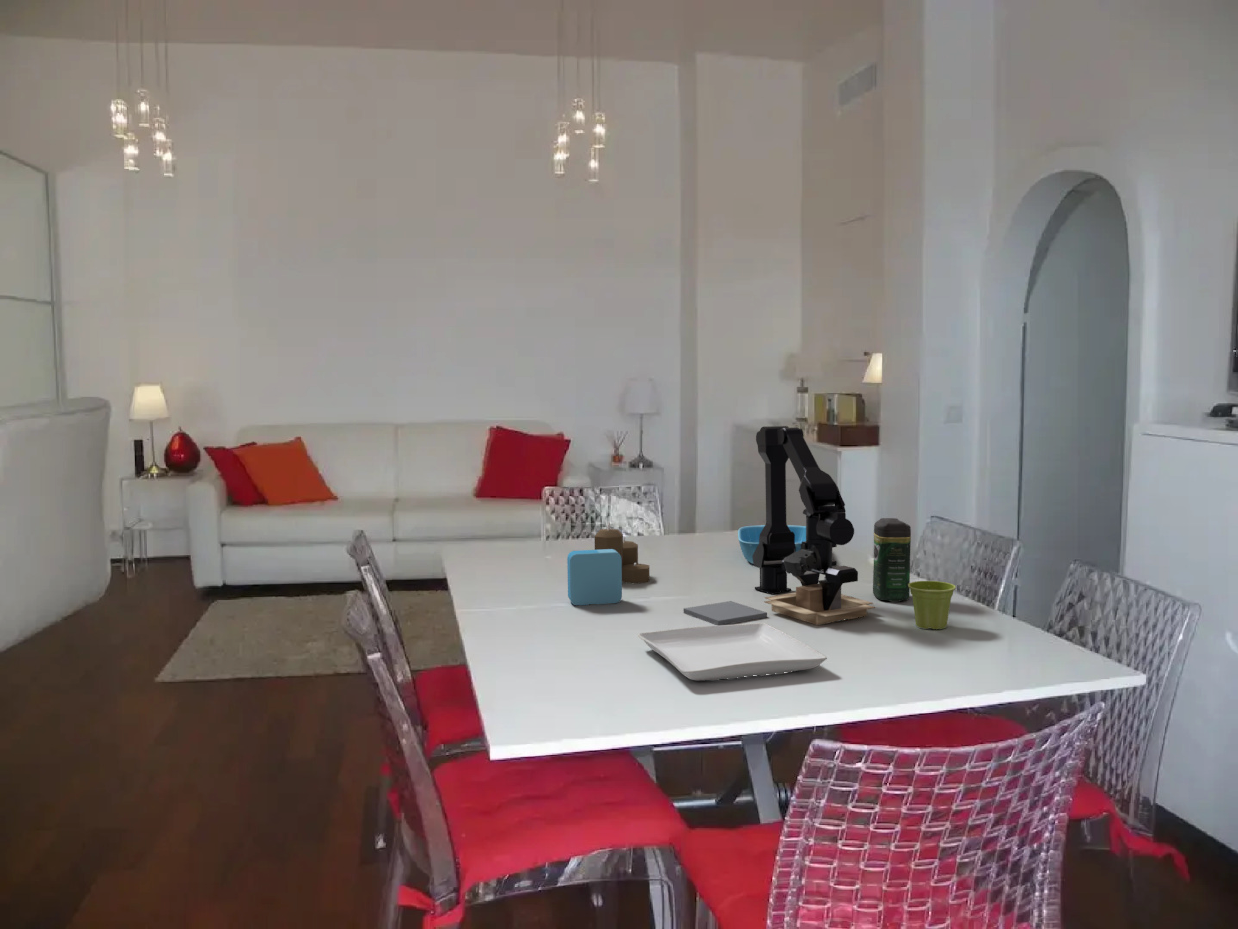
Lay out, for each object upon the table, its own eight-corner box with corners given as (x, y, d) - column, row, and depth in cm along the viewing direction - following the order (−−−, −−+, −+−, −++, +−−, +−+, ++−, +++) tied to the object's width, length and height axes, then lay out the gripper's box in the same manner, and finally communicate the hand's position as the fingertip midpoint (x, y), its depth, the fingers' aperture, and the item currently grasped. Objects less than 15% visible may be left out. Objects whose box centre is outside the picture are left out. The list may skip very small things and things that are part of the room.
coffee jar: (913, 602, 233) (914, 522, 231) (878, 602, 233) (879, 522, 232) (903, 593, 243) (904, 515, 241) (869, 593, 243) (870, 516, 241)
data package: (618, 599, 240) (618, 548, 239) (622, 603, 236) (621, 552, 235) (567, 601, 238) (567, 550, 237) (570, 606, 233) (569, 554, 232)
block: (795, 614, 224) (796, 587, 223) (826, 608, 228) (827, 582, 228) (809, 618, 220) (809, 590, 219) (841, 612, 225) (841, 585, 224)
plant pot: (930, 634, 206) (931, 592, 205) (897, 624, 214) (898, 583, 213) (964, 628, 210) (965, 587, 209) (931, 618, 219) (932, 578, 218)
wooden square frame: (755, 609, 228) (755, 598, 228) (820, 599, 238) (820, 588, 237) (816, 629, 211) (816, 617, 211) (883, 617, 220) (883, 605, 220)
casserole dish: (737, 545, 309) (737, 522, 309) (812, 546, 307) (812, 522, 306) (738, 570, 273) (738, 543, 272) (823, 571, 270) (823, 544, 270)
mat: (683, 612, 226) (683, 608, 226) (730, 605, 233) (730, 600, 232) (718, 625, 215) (718, 620, 215) (767, 617, 221) (767, 612, 221)
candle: (605, 587, 253) (605, 527, 252) (585, 576, 266) (584, 519, 264) (655, 581, 259) (654, 523, 257) (632, 571, 271) (632, 515, 270)
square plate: (829, 677, 181) (830, 655, 180) (684, 692, 173) (684, 670, 172) (765, 638, 206) (765, 619, 206) (635, 650, 199) (635, 630, 198)
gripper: (762, 535, 226) (762, 604, 228) (820, 547, 210) (819, 622, 212) (801, 530, 232) (801, 598, 234) (860, 542, 216) (859, 614, 218)
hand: (818, 607), depth 224 cm, fingers closed on block, 4 cm apart
